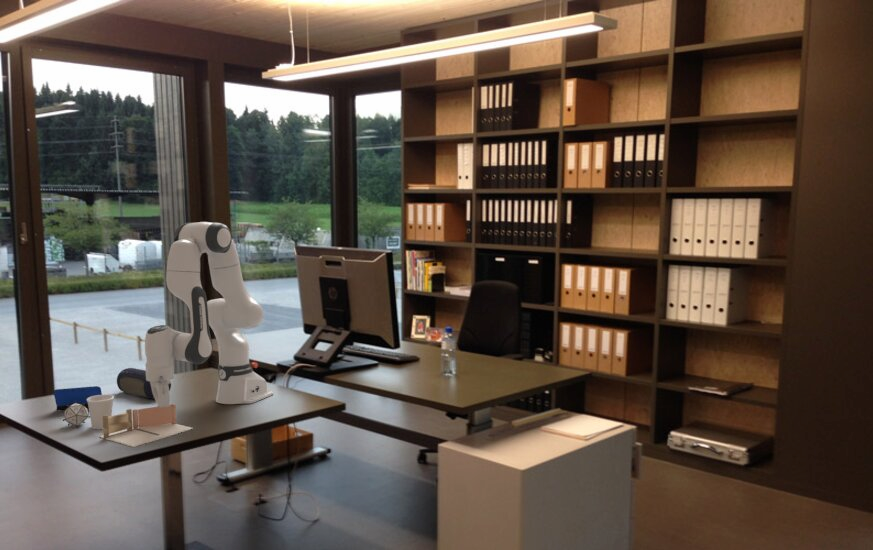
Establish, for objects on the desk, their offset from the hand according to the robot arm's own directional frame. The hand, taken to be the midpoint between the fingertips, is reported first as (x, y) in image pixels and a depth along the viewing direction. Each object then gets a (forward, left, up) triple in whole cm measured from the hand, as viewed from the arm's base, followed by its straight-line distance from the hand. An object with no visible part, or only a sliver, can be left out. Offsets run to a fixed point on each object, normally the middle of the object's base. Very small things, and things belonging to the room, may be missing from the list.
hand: (161, 413), depth 244 cm
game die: (+17, -23, -4) cm, 28 cm away
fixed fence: (+15, -2, -3) cm, 16 cm away
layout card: (+9, +4, -4) cm, 10 cm away
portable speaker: (-20, -39, -4) cm, 45 cm away
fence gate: (+3, +1, -3) cm, 5 cm away
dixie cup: (+13, -15, -4) cm, 20 cm away
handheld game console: (+3, -43, -4) cm, 44 cm away
